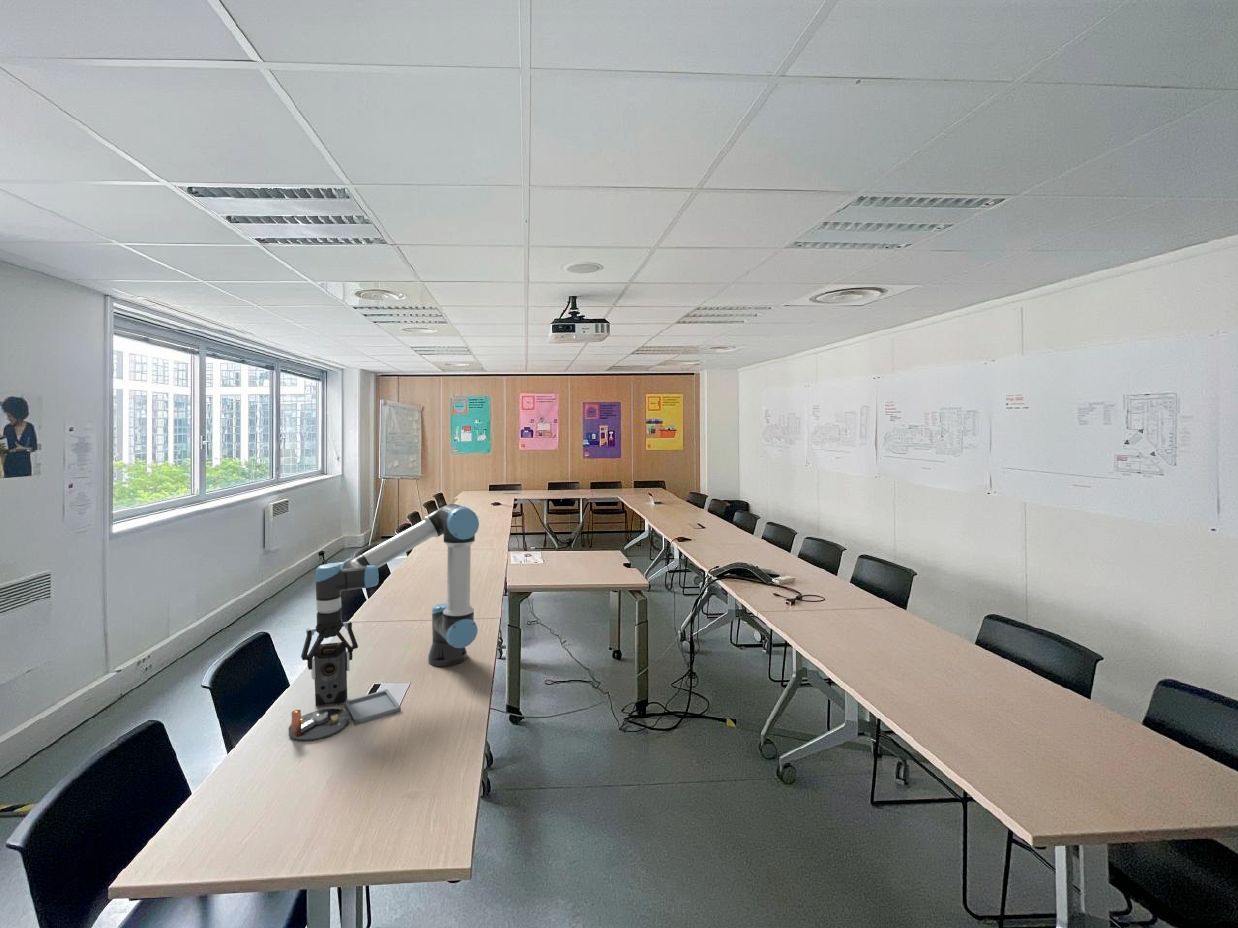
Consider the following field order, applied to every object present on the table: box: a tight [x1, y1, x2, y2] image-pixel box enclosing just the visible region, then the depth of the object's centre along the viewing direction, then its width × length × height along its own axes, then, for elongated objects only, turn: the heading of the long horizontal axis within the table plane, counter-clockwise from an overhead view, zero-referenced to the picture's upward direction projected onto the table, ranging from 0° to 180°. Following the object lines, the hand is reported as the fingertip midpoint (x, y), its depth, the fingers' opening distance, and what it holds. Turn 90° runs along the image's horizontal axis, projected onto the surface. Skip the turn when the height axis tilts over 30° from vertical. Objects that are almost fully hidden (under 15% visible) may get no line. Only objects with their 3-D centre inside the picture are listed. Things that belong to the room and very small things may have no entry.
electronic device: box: [313, 641, 348, 708], centre depth 187 cm, size 9×6×20 cm, turn 105°
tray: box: [343, 688, 402, 726], centre depth 183 cm, size 14×16×2 cm
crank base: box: [288, 708, 351, 743], centre depth 172 cm, size 17×17×4 cm
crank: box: [291, 709, 328, 736], centre depth 168 cm, size 11×4×7 cm, turn 159°
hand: (330, 673), depth 187 cm, fingers closed on electronic device, 10 cm apart
